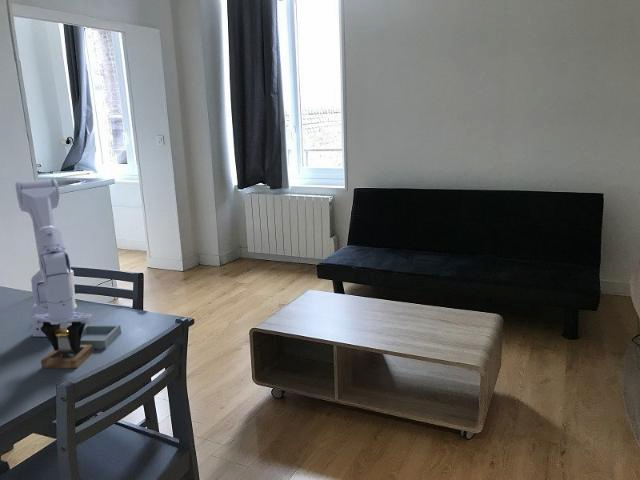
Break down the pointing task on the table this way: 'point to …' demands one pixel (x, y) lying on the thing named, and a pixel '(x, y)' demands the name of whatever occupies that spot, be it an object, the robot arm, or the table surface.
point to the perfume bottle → (72, 286)
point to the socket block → (56, 362)
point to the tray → (100, 335)
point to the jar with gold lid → (64, 343)
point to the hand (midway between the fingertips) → (67, 349)
